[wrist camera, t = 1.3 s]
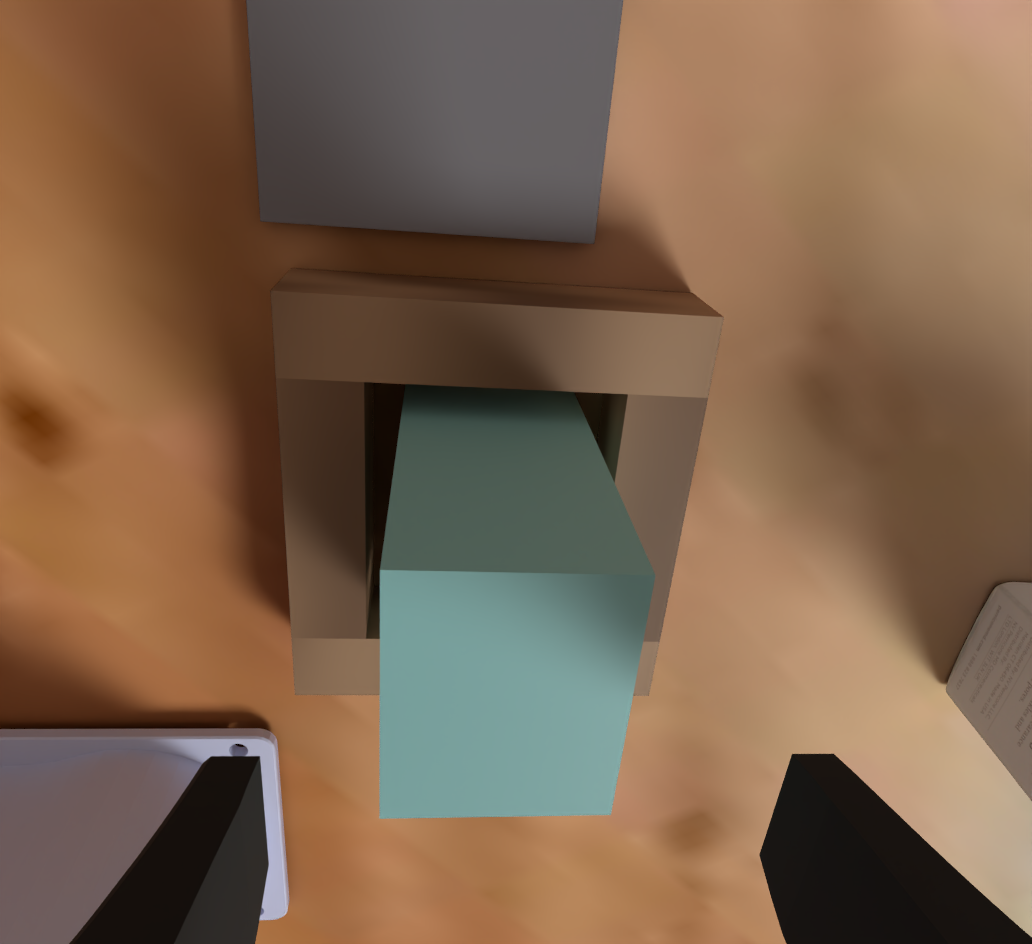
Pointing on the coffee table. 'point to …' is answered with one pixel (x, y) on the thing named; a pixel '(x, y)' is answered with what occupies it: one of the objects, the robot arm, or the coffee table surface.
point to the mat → (434, 114)
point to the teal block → (505, 610)
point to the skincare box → (1000, 678)
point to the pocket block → (467, 363)
